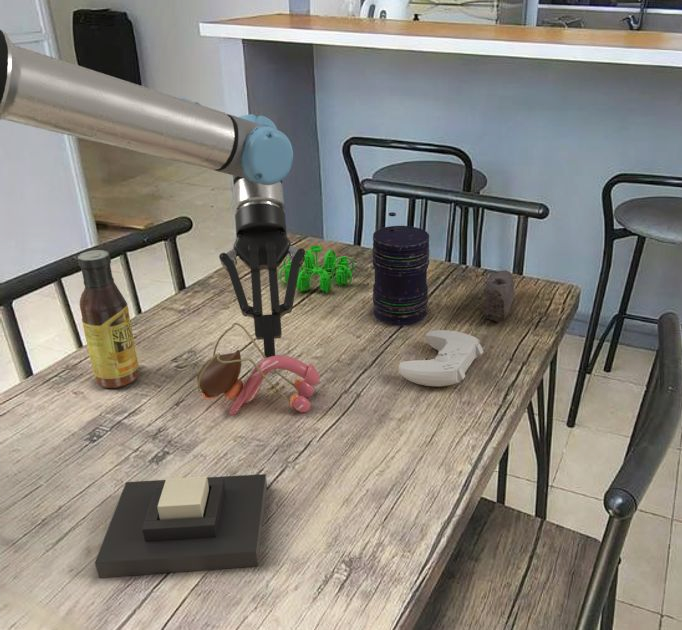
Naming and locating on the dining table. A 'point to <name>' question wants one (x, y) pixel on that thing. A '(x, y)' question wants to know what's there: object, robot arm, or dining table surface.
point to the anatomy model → (253, 377)
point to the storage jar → (400, 274)
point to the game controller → (443, 359)
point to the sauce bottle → (106, 323)
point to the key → (183, 498)
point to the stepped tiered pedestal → (185, 530)
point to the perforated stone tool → (498, 296)
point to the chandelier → (320, 270)
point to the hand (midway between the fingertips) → (270, 359)
